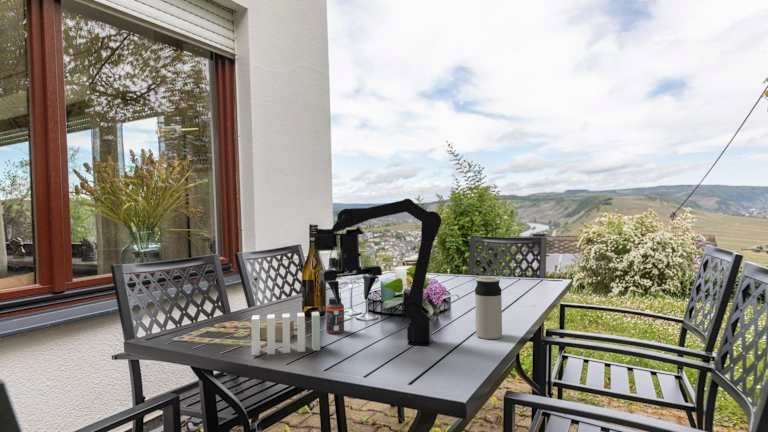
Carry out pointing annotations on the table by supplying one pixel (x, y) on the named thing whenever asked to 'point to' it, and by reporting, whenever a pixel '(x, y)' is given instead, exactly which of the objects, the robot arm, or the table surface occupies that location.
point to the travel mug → (488, 308)
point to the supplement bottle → (334, 316)
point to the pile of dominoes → (236, 333)
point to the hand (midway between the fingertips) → (351, 301)
